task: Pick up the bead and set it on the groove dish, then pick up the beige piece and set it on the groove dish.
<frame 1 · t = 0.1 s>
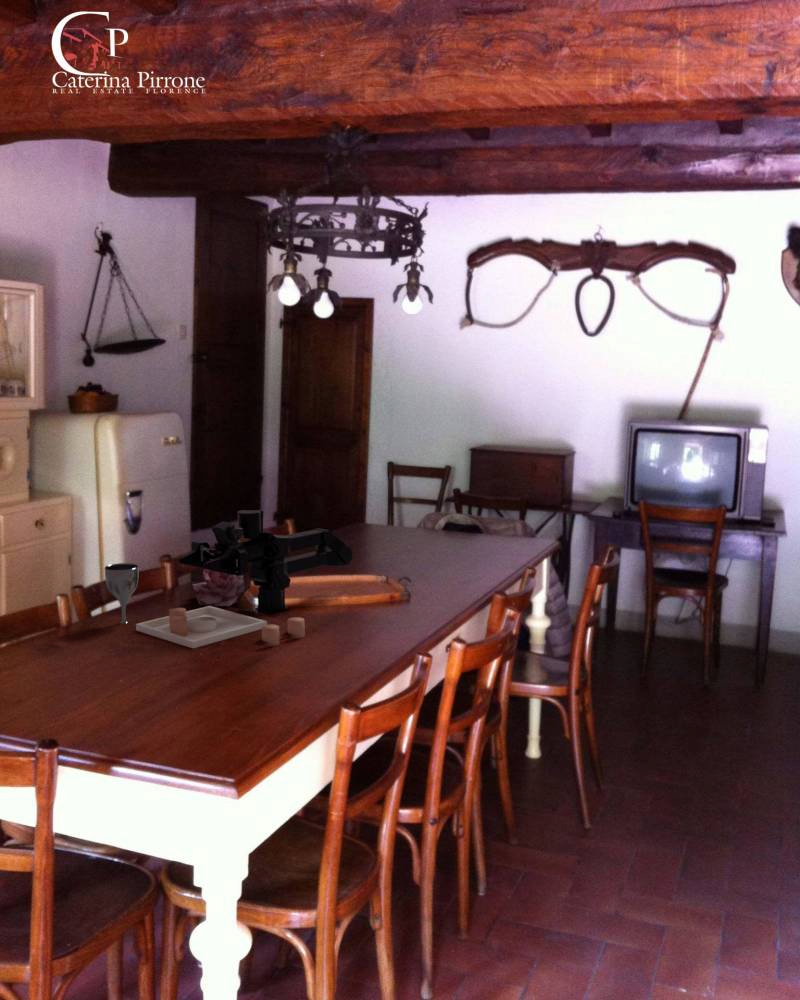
hand: (191, 563, 240), 17 cm above the table, tool horizontal, fingers open, 9 cm apart
wine glass: (124, 627, 247), on the table
groove dish: (202, 632, 241), on the table
seated bead 3: (178, 634, 236), point 1 cm above the table, touching groove dish
beige piece 2: (270, 643, 232), on the table
flower: (220, 604, 268), on the table
bead 1: (296, 636, 238), on the table
seated bead 4: (178, 626, 243), point 1 cm above the table, touching groove dish
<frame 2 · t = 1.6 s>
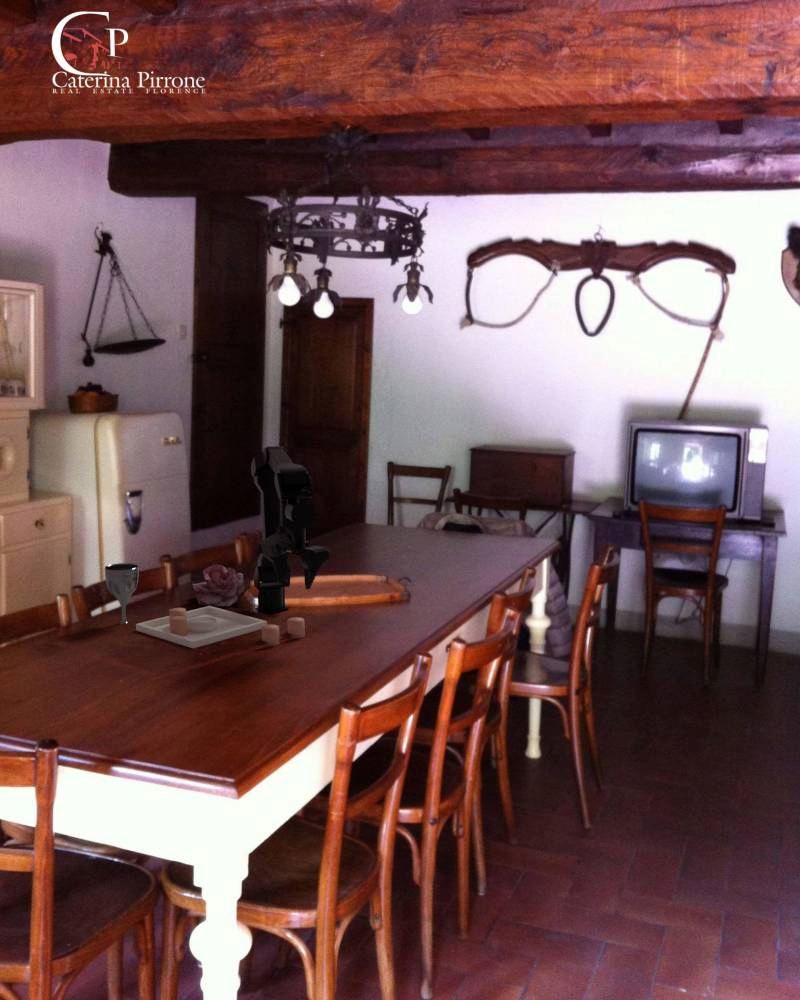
hand: (294, 586, 236), 12 cm above the table, tool pointing down, fingers open, 9 cm apart
nothing on the table moved.
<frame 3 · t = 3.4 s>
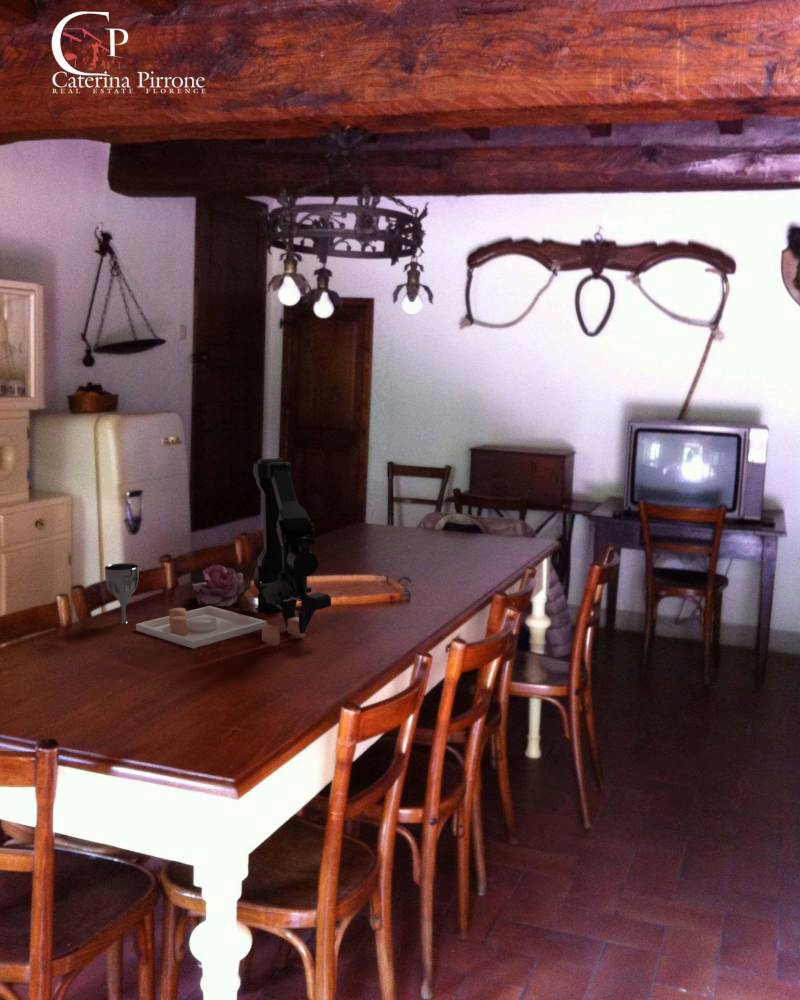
hand: (296, 631, 238), 1 cm above the table, tool pointing down, fingers closed on bead 1, 4 cm apart
bead 1: (296, 635, 238), on the table, touching gripper
everything else where it was.
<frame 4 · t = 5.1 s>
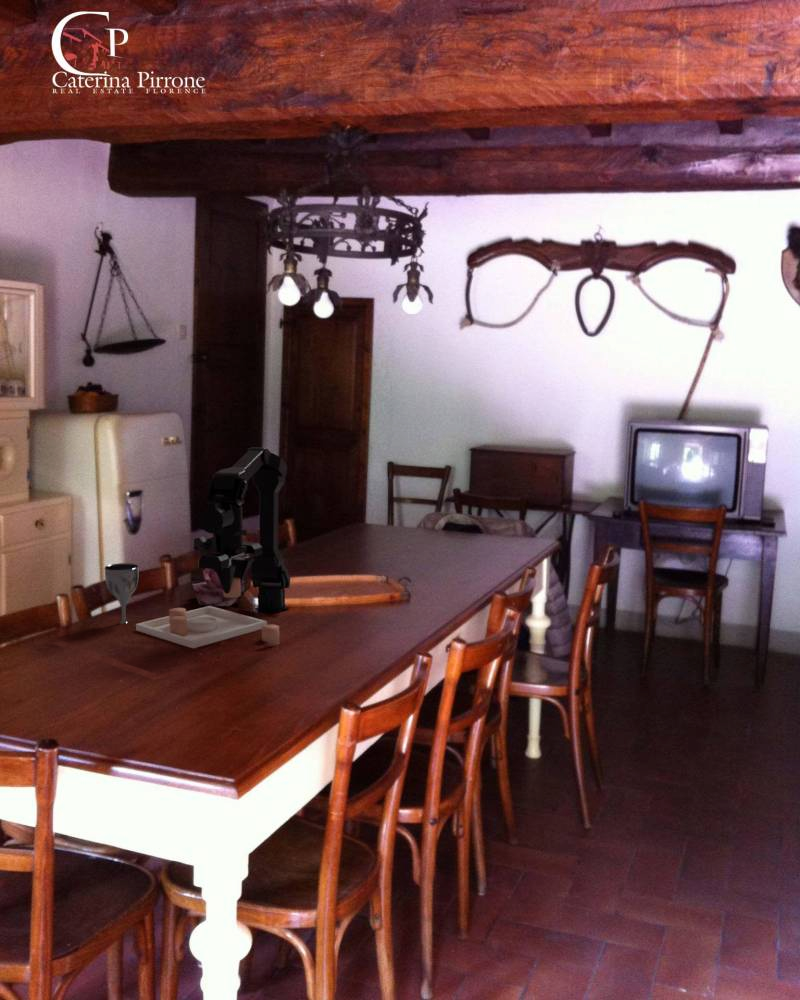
hand: (232, 591, 236), 11 cm above the table, tool pointing down, fingers closed on bead 1, 4 cm apart
bead 1: (232, 595, 236), point 10 cm above the table, touching gripper
everything else where it was.
when the fingers open (4 cm above the table, at t = 7.0 s): bead 1 drops 1 cm, resting on groove dish.
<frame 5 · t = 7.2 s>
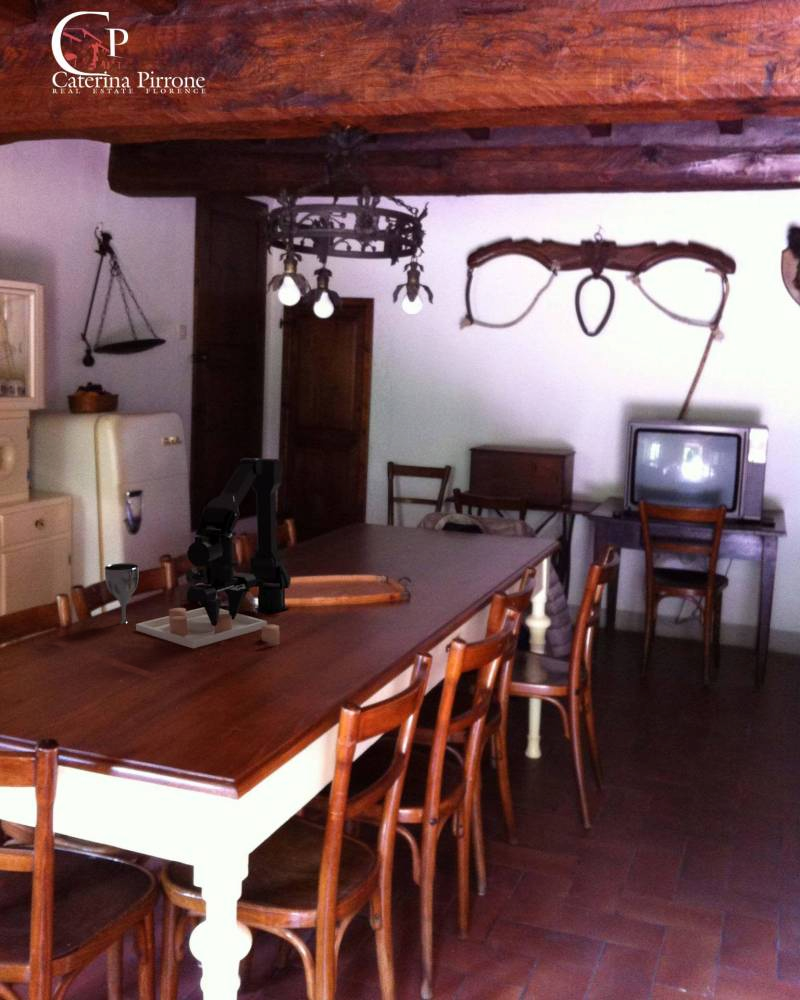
hand: (223, 622, 237), 4 cm above the table, tool pointing down, fingers open, 6 cm apart
bead 1: (223, 632, 237), point 1 cm above the table, touching groove dish
everything else where it was.
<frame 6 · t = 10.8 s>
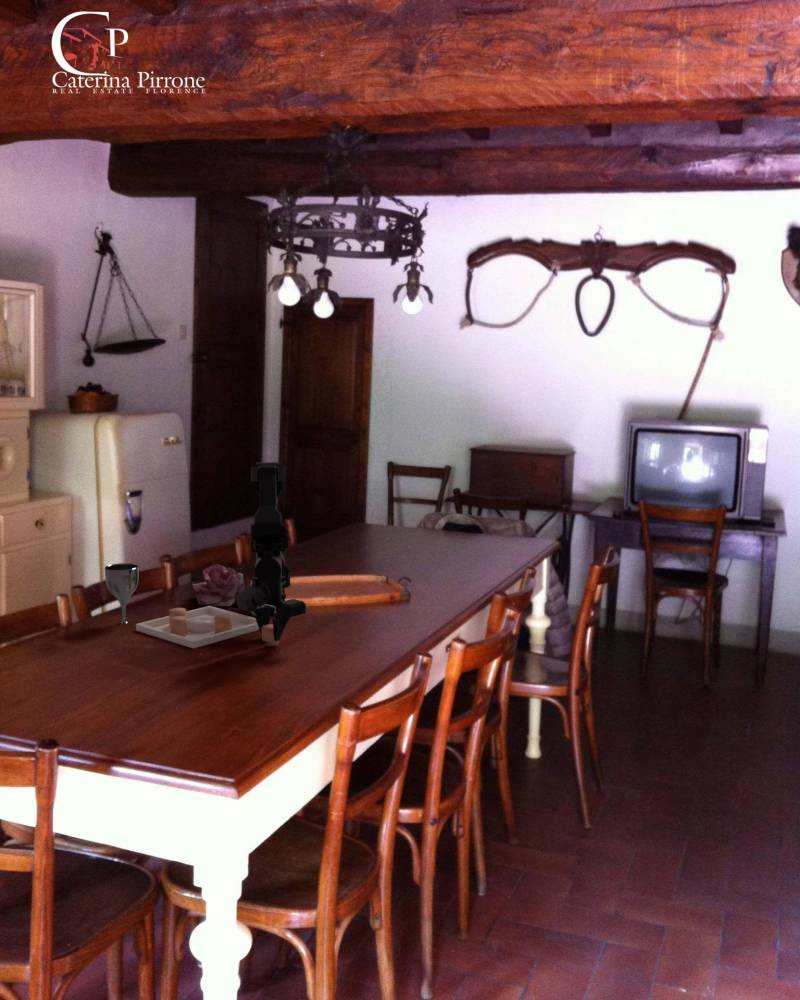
hand: (270, 639, 232), 1 cm above the table, tool pointing down, fingers closed on beige piece 2, 4 cm apart
beige piece 2: (270, 643, 232), on the table, touching gripper
everything else where it was.
when the fingers open (4 cm above the table, at t = 14.5 s): beige piece 2 drops 1 cm, resting on groove dish.
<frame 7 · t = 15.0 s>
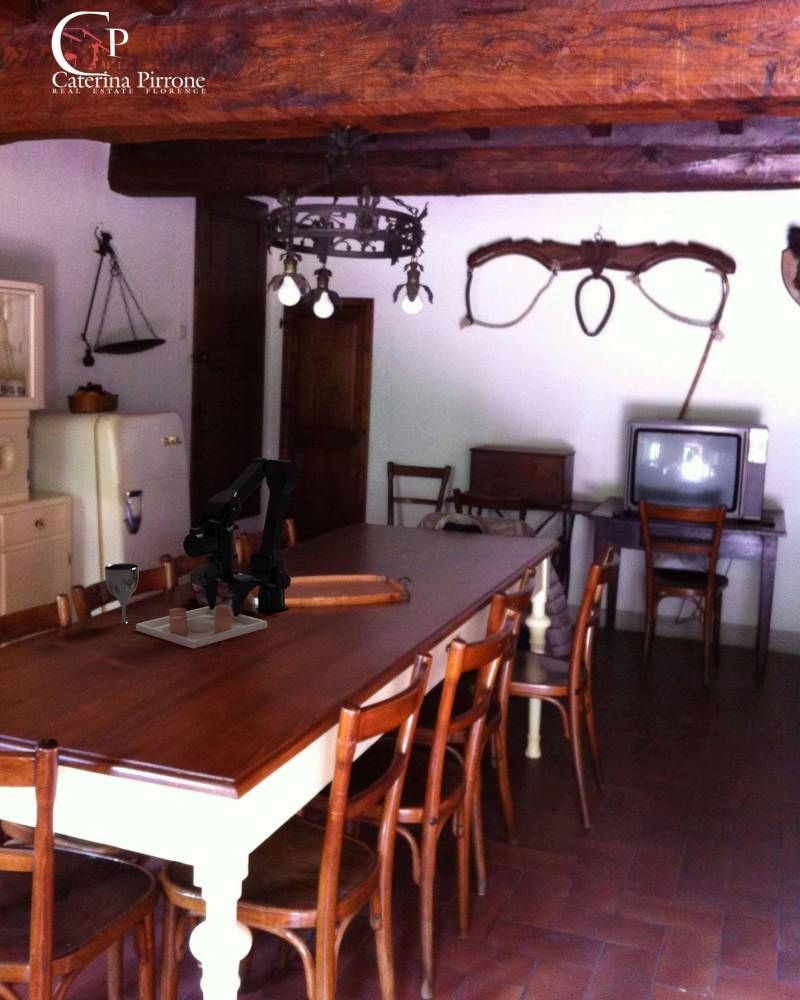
hand: (223, 612, 246), 4 cm above the table, tool pointing down, fingers open, 9 cm apart
beige piece 2: (224, 622, 246), point 1 cm above the table, touching groove dish
everything else where it was.
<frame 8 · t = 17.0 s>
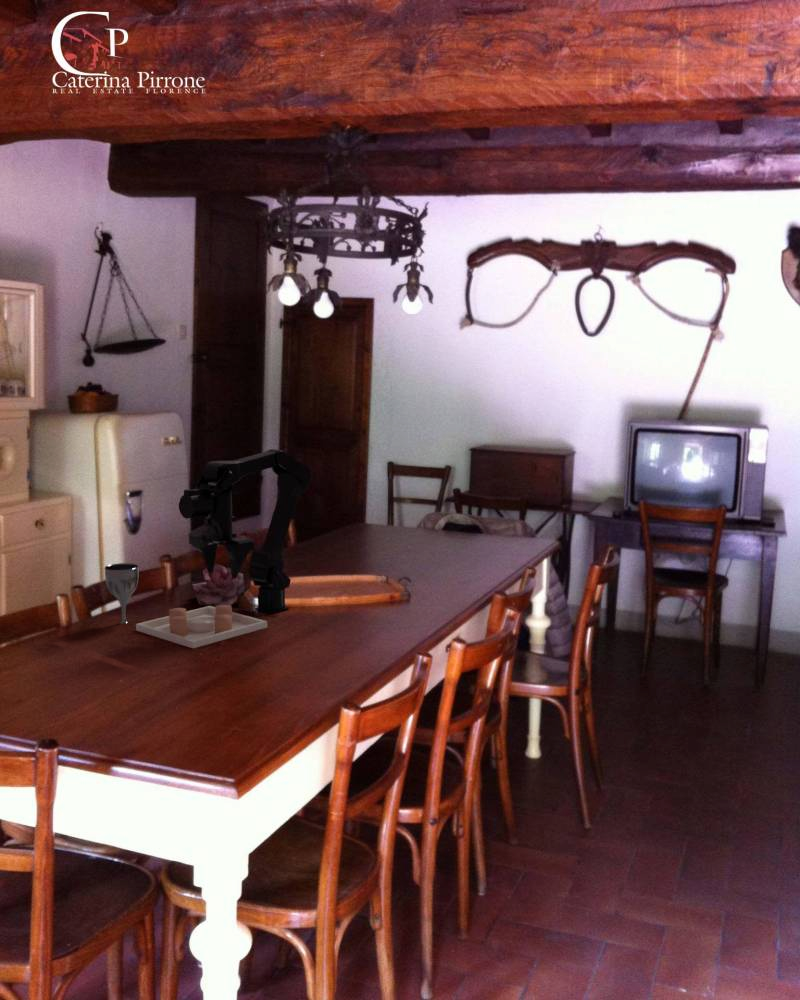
hand: (222, 575, 248), 12 cm above the table, tool pointing down, fingers open, 9 cm apart
nothing on the table moved.
at the end: bead 1 0.2 cm from the target spot on the groove dish, point 1.0 cm above the groove dish's base; beige piece 2 0.1 cm from the target spot on the groove dish, point 1.0 cm above the groove dish's base; bead 1 tilted 0° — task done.
